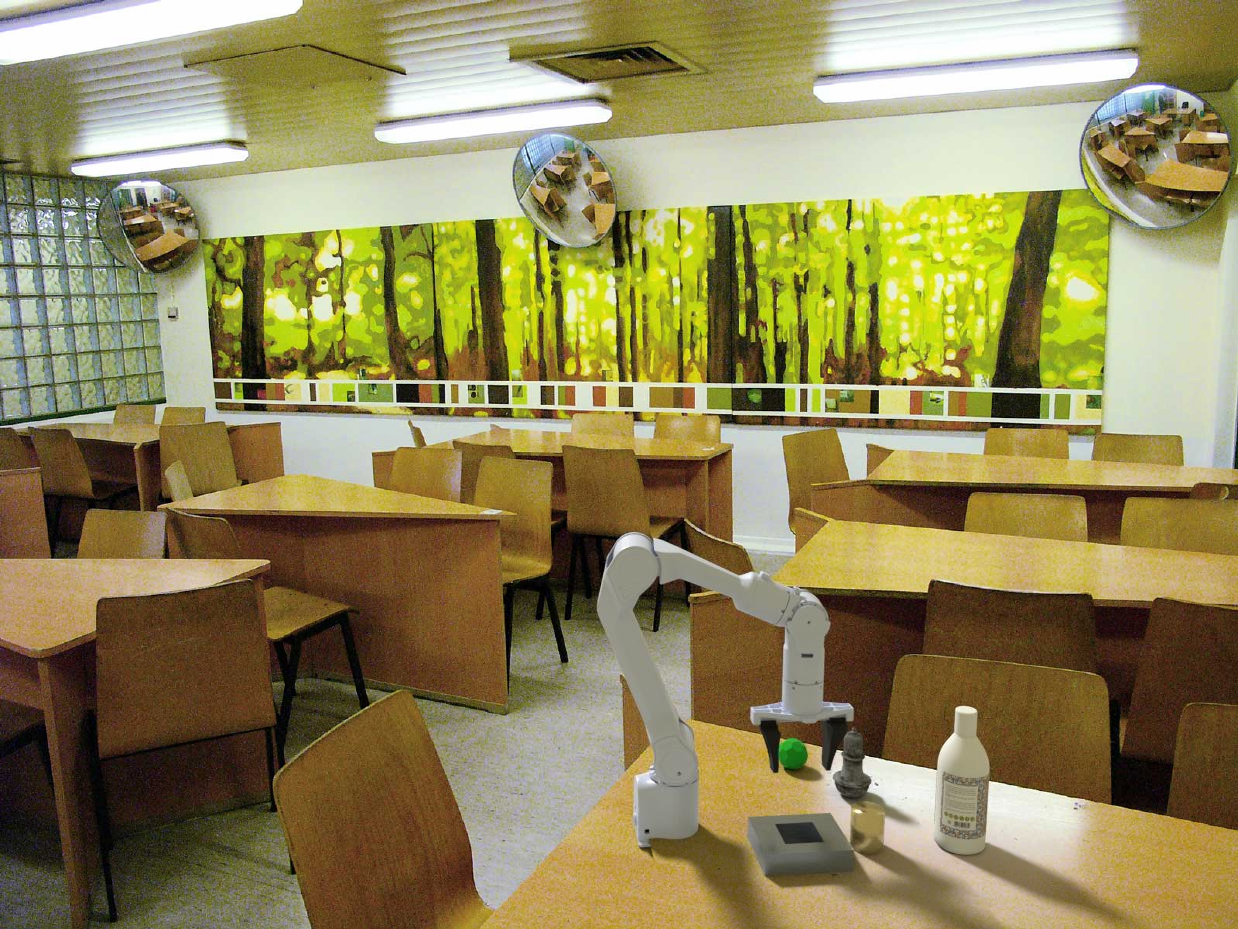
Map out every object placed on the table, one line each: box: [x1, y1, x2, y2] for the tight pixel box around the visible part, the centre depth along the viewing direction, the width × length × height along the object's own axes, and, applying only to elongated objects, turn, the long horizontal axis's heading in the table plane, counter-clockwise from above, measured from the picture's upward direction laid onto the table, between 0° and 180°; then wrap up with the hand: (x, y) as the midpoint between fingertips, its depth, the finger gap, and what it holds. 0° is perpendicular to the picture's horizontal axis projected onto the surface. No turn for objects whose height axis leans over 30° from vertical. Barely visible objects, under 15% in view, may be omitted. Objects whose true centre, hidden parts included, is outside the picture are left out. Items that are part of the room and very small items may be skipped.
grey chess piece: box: [832, 726, 872, 799], centre depth 152 cm, size 6×6×12 cm
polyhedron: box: [779, 737, 809, 771], centre depth 164 cm, size 5×5×5 cm
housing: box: [747, 812, 855, 877], centre depth 136 cm, size 12×10×4 cm
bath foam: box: [933, 705, 991, 856], centre depth 139 cm, size 7×7×20 cm
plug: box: [849, 800, 886, 856], centre depth 137 cm, size 5×5×6 cm
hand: (800, 768), depth 142 cm, fingers open, 7 cm apart
